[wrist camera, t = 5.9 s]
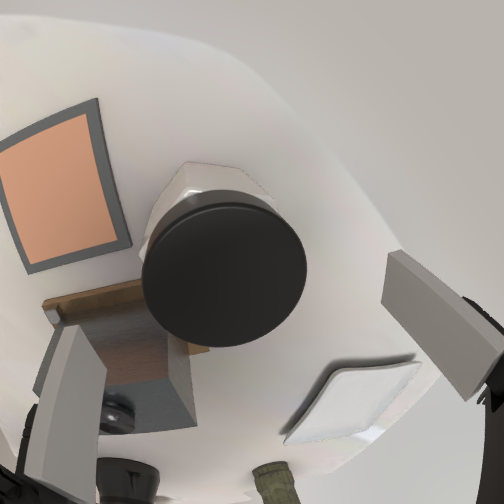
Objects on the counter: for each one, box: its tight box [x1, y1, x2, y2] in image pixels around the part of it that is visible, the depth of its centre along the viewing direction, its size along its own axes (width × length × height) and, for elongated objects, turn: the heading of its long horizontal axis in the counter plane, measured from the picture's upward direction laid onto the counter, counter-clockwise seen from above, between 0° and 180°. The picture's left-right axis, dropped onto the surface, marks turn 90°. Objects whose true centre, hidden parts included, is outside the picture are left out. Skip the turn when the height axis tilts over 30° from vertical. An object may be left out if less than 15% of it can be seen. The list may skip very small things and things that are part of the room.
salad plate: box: [283, 361, 422, 446], centre depth 43 cm, size 21×21×3 cm
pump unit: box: [33, 279, 209, 435], centre depth 22 cm, size 16×10×12 cm, turn 98°
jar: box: [139, 162, 307, 347], centre depth 19 cm, size 9×8×12 cm
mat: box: [0, 98, 133, 275], centre depth 19 cm, size 12×13×1 cm
